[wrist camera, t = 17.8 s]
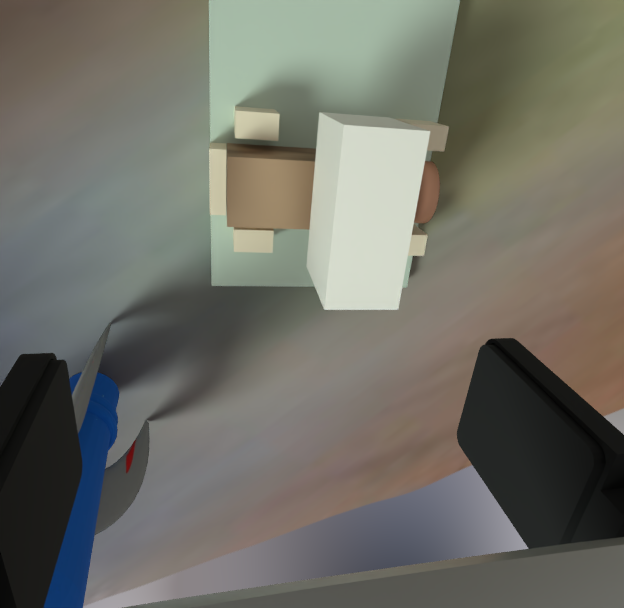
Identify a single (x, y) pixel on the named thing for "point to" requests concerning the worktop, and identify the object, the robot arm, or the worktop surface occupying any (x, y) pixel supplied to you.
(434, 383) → the worktop surface
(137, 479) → the toy rocket
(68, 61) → the worktop surface
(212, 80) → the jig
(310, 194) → the brown block
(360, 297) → the white rectangular brick
